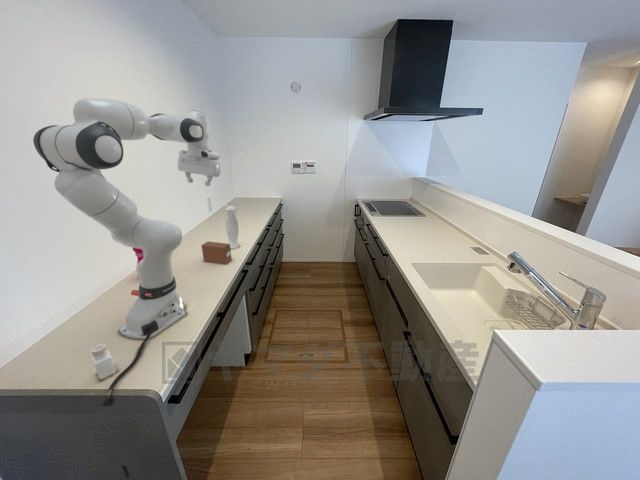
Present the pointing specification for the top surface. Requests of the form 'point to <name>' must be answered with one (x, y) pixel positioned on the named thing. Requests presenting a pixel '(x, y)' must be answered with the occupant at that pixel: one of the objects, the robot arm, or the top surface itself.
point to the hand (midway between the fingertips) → (198, 184)
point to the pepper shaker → (103, 361)
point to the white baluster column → (231, 226)
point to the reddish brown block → (216, 252)
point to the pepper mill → (138, 254)
